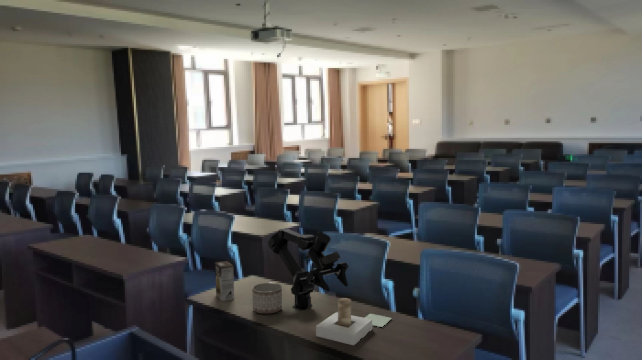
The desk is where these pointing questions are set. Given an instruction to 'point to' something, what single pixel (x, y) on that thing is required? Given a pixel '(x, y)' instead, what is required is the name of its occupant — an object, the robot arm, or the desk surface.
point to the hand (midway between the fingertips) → (338, 288)
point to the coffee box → (224, 280)
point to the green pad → (378, 320)
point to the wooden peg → (344, 312)
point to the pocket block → (344, 329)
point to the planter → (267, 297)
